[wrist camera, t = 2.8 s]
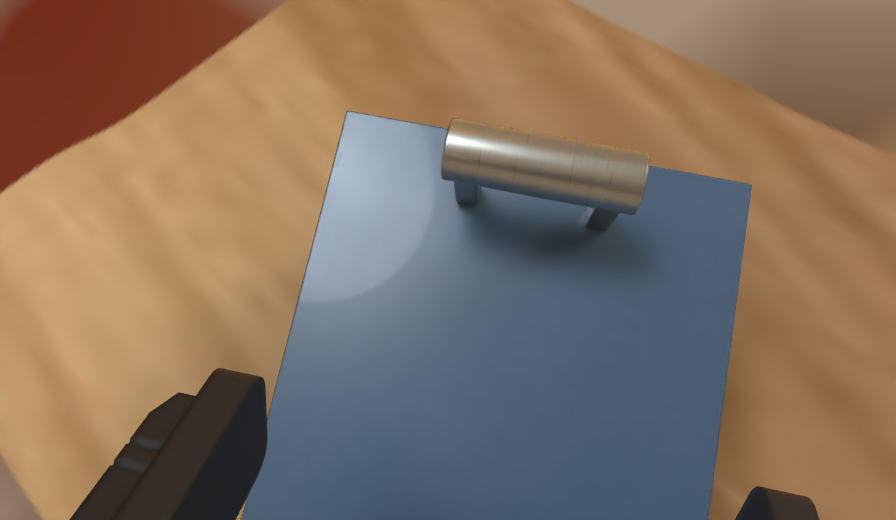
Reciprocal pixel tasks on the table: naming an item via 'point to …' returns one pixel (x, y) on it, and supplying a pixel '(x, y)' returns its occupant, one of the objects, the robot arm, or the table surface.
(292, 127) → the table surface
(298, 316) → the freezer lid
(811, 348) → the table surface
